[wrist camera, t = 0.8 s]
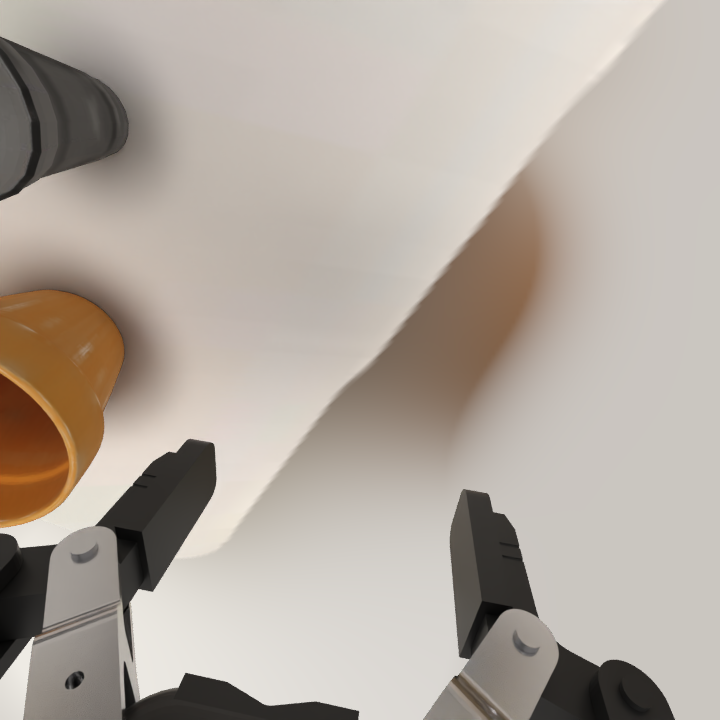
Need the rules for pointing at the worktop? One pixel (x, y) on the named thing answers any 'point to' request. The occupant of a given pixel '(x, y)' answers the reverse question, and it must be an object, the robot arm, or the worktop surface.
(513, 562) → the robot arm
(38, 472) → the flower pot
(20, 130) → the beverage cup
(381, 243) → the worktop surface
